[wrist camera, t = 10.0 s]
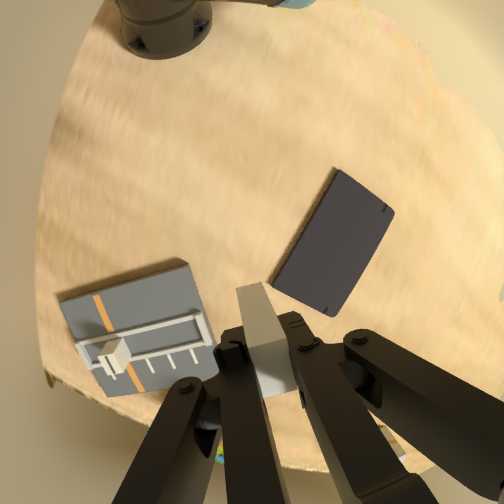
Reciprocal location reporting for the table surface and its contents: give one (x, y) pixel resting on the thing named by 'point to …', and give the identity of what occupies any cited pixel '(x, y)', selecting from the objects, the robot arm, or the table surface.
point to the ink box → (393, 443)
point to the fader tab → (115, 356)
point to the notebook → (335, 246)
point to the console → (145, 331)
